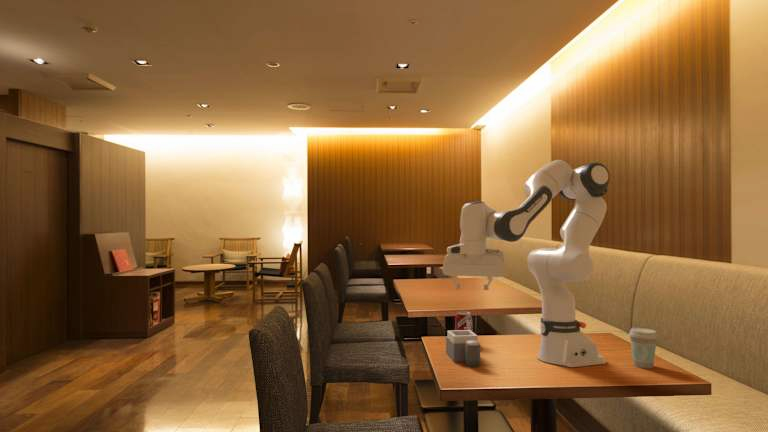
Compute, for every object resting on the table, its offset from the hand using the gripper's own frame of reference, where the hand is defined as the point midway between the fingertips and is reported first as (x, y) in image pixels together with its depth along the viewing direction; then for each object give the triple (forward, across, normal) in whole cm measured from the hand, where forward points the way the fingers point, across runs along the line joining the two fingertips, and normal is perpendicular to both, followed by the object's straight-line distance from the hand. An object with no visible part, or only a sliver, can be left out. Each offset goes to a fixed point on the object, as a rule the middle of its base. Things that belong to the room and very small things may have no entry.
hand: (472, 289), depth 160 cm
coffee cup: (+24, -58, -6) cm, 63 cm away
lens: (+25, -1, +1) cm, 25 cm away
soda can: (+25, +1, -28) cm, 38 cm away
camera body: (+25, +3, -8) cm, 27 cm away
